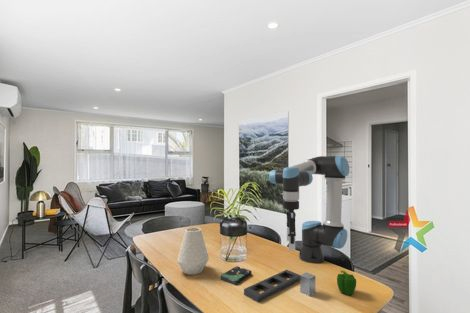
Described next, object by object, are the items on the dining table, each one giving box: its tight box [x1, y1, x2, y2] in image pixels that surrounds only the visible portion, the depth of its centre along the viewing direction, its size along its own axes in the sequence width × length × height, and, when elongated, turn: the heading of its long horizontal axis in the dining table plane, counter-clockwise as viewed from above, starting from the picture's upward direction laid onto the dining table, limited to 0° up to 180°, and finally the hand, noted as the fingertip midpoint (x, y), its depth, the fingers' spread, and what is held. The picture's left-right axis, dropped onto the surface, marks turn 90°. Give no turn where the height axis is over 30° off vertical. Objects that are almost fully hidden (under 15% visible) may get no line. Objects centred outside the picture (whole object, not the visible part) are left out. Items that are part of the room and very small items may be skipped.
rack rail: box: [243, 269, 301, 303], centre depth 128 cm, size 32×9×2 cm, turn 131°
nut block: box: [299, 272, 316, 297], centre depth 122 cm, size 5×5×8 cm
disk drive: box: [220, 265, 253, 286], centre depth 138 cm, size 10×3×15 cm
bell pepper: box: [336, 270, 357, 296], centre depth 123 cm, size 8×8×10 cm
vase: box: [176, 227, 209, 276], centre depth 146 cm, size 18×17×23 cm
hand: (290, 245), depth 122 cm, fingers open, 13 cm apart
